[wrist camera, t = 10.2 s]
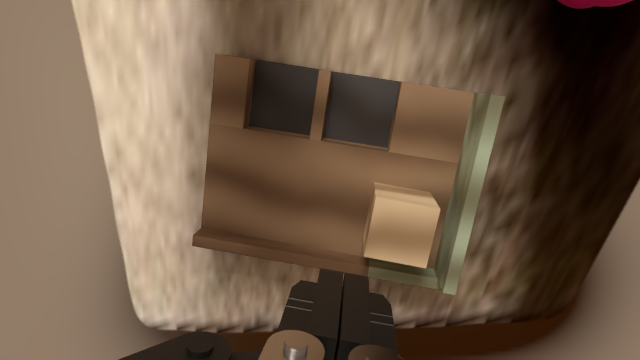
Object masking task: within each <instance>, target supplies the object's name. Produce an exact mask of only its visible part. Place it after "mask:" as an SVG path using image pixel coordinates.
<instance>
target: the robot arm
mask: <svg viewBox="0 0 640 360" xmlns="http://www.w3.org/2000/svg"><path fill="white" fill-rule="evenodd" d="M342 281H343V286H342ZM392 316H393V315H392V308H391V304H390V303H389V302H388V301H387V299H386V298H385V297H384V296H383V295H380V294H375V293H369V281H368V276H364V275H358V274H353V273H347V272H345V275H344V280H343V272H341V271H336V270H330V269H324V268H321V269H320V273H319V278H318V283H313V282H308V281H302V280H301V281H300V282H298V283H297V284H296V285H294V286H293V287H292V288H291V291H290V294H289V298H288V300H287V304H286V307H285V310H284V313H283V316H282V319H281V322H280V325H279V328H278V331H277V333H275V334H273V335H272V336H271V337H270V338H269V339H268V340H267V342H266V344H265V346H264V348H262V349H259V350H257V351H252V352H238V353H231V346H230V344H229V342H228V341H227V340H226V339H224V338H223V337H221V336H220V335H217V334H215V333H210V332H192V333H188V334H184V335H182V336H179V337H176V338H174V339H171V340H169V341H166V342H164V343H161V344H158V345H156V346H153V347H150V348H148V349H145V350H142V351H140V352H137V353H134V354H132V355H130V356H127V357H124V358H121V359H119V360H403V359H402V358H401V357H400V356H399V355H398V352H397V344H396V337H395V330H394V322H393V318H392Z"/></svg>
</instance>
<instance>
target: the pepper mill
mask: <svg viewBox="0 0 640 360" xmlns="http://www.w3.org/2000/svg"><path fill="white" fill-rule="evenodd" d="M558 1H559V2H560V3H562V4H563V5H565V6H568V7H571V8H577V9H584V8H590V7H593V6H599V7H611V6H618V5H622V4H625V3H628V2H630V1H633V0H558Z"/></svg>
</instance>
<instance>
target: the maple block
mask: <svg viewBox="0 0 640 360" xmlns="http://www.w3.org/2000/svg"><path fill="white" fill-rule="evenodd" d="M440 210H441V209H440V207H439V206H438V204H437V202H436V201H435V199H434V198H433V196H432V194H431V193H430V192H426V191H421V190H415V189H410V188H404V187H398V186H393V185H387V184H382V183H376V182H374V184H373V188H372V193H371V198H370V203H369V208H368V213H367V218H366V223H365V228H364V233H363V244H364V257H369V258H374V259H379V260H384V261H390V262H395V263H400V264H405V265H411V266H416V267H421V268H426V267H427V263H428V259H429V255H430V251H431V246H432V242H433V238H434V234H435V230H436V226H437V222H438V218H439V214H440Z"/></svg>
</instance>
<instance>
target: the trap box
mask: <svg viewBox="0 0 640 360" xmlns="http://www.w3.org/2000/svg"><path fill="white" fill-rule="evenodd" d="M504 99H505V96H498V95H491V94H482V93H473V92H467V91H460V90H453V89H447V88H440V87H433V86H427V85H420V84H414V83H407V82H398V81H392V80H385V79H379V78H372V77H365V76H359V75H352V74H345V73H339V72H332V71H328V70H321V69H312V68H306V67H299V66H292V65H286V64H279V63H273V62H266V61H259V60H254V59H248V58H241V57H235V56H228V55H222V54H216V55H215V67H214V79H213V91H212V103H211V116H210V128H209V140H208V152H207V164H206V176H205V188H204V201H203V213H202V225H201V229H200V230H199V231H197V232H196V233H195V234H194V235H193V243H192V246H196V247H202V248H207V249H213V250H219V251H224V252H230V253H235V254H241V255H247V256H252V257H258V258H263V259H269V260H275V261H280V262H286V263H292V264H297V265H303V266H308V267H314V268H320V269H321V268H324V269H330V270H336V271H341V272H343V273H345V272H347V273H353V274H358V275H364V276H368V277H370V278H376V279H381V280H387V281H393V282H398V283H404V284H409V285H415V286H421V287H426V288H432V289H438V290H442V292H443V293H446V294H452V295H455V294H456V290H457V286H458V282H459V278H460V274H461V270H462V266H463V262H464V258H465V254H466V250H467V246H468V242H469V238H470V234H471V230H472V226H473V222H474V218H475V214H476V210H477V206H478V202H479V198H480V195H481V191H482V187H483V183H484V179H485V175H486V171H487V167H488V163H489V159H490V155H491V151H492V147H493V143H494V139H495V135H496V131H497V127H498V123H499V119H500V115H501V111H502V107H503V103H504ZM374 182H376V183H382V184H387V185H393V186H398V187H404V188H410V189H415V190H421V191H426V192H430V193H431V194H432V196H433V198H434V199H435V201H436V202H437V204H438V206H439V207H440V209H441V210H440V214H439V218H438V222H437V226H436V230H435V234H434V238H433V242H432V246H431V251H430V255H429V259H428V263H427V267H426V268H421V267H416V266H411V265H405V264H400V263H395V262H390V261H384V260H379V259H374V258H369V257H364V244H363V233H364V228H365V223H366V218H367V213H368V208H369V203H370V198H371V193H372V188H373V184H374Z"/></svg>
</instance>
